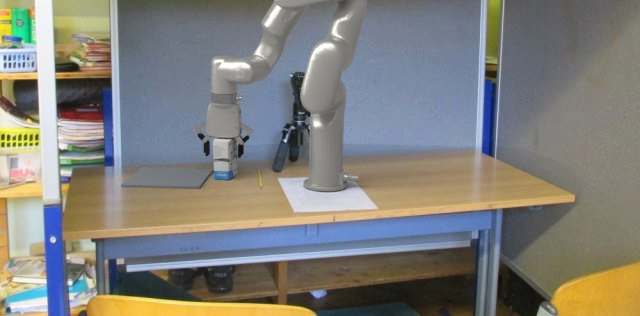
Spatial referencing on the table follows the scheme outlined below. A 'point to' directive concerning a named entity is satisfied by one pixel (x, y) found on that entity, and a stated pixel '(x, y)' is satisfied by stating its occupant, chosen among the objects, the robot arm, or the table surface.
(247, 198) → the table surface
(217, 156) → the ink box
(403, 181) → the table surface
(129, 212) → the table surface
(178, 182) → the slate mat
